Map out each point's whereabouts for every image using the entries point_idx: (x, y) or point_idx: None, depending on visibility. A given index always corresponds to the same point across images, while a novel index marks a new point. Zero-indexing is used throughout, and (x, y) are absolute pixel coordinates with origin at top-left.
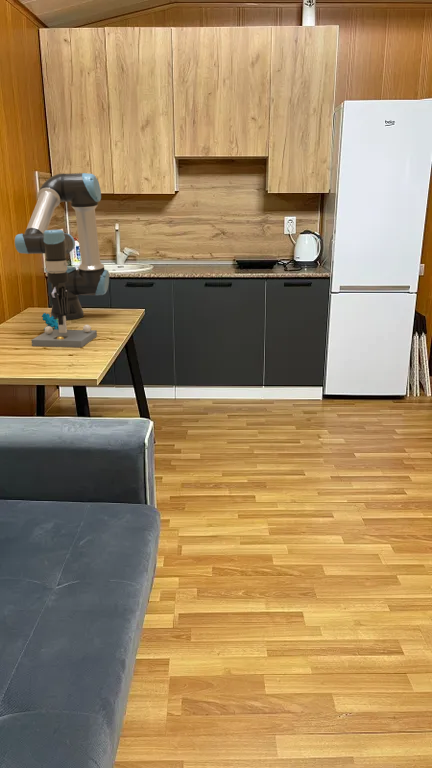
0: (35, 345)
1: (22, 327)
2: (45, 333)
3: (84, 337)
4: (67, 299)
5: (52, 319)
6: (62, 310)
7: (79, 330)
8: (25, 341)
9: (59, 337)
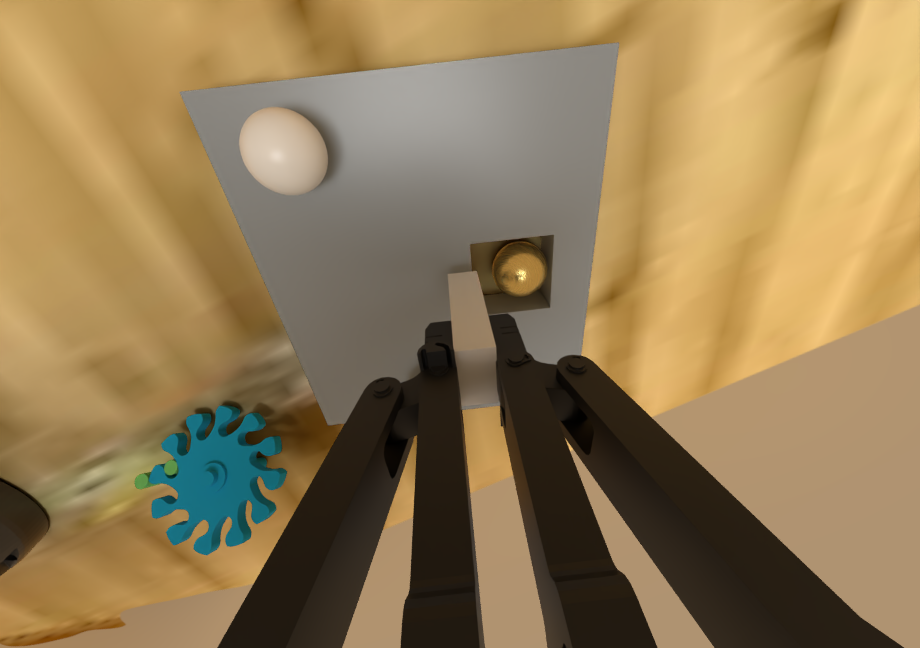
0: None
1: (265, 537)
2: None
3: (481, 80)
4: (283, 544)
5: (192, 490)
6: (534, 399)
7: (268, 252)
8: (481, 433)
9: (540, 275)
